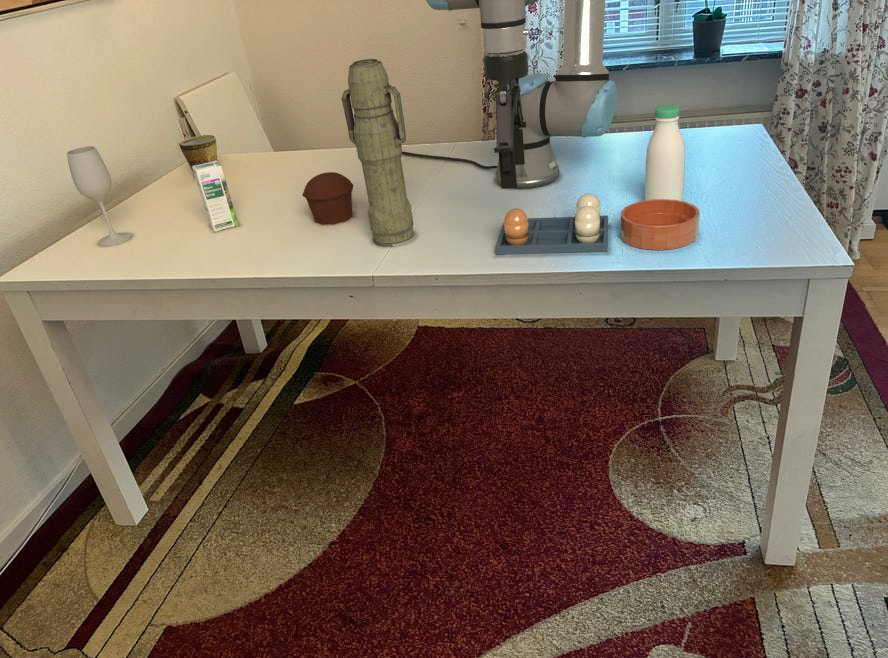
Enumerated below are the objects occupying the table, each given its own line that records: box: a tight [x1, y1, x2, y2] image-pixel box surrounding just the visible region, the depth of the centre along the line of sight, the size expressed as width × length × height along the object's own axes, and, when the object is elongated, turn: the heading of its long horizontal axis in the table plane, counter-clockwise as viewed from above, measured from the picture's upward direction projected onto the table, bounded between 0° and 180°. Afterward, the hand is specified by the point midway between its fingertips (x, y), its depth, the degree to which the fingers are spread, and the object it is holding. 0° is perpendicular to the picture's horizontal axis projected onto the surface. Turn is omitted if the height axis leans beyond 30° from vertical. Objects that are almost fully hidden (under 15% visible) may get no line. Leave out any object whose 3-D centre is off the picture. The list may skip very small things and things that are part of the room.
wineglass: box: [66, 145, 132, 247], centre depth 166 cm, size 8×8×21 cm
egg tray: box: [495, 215, 609, 256], centre depth 144 cm, size 14×21×2 cm
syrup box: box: [192, 159, 239, 232], centre depth 168 cm, size 6×6×14 cm
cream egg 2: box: [574, 206, 601, 243], centre depth 138 cm, size 5×5×8 cm
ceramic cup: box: [178, 134, 219, 177], centre depth 208 cm, size 13×10×10 cm
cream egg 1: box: [575, 193, 601, 216], centre depth 143 cm, size 5×5×8 cm
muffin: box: [301, 171, 354, 226], centre depth 166 cm, size 12×11×10 cm
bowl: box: [620, 199, 701, 251], centre depth 139 cm, size 14×14×5 cm
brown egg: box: [503, 208, 529, 245], centre depth 141 cm, size 5×5×8 cm
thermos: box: [341, 58, 415, 247], centre depth 145 cm, size 9×12×35 cm
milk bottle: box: [644, 104, 686, 201], centre depth 149 cm, size 8×8×20 cm
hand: (513, 175), depth 135 cm, fingers open, 13 cm apart
